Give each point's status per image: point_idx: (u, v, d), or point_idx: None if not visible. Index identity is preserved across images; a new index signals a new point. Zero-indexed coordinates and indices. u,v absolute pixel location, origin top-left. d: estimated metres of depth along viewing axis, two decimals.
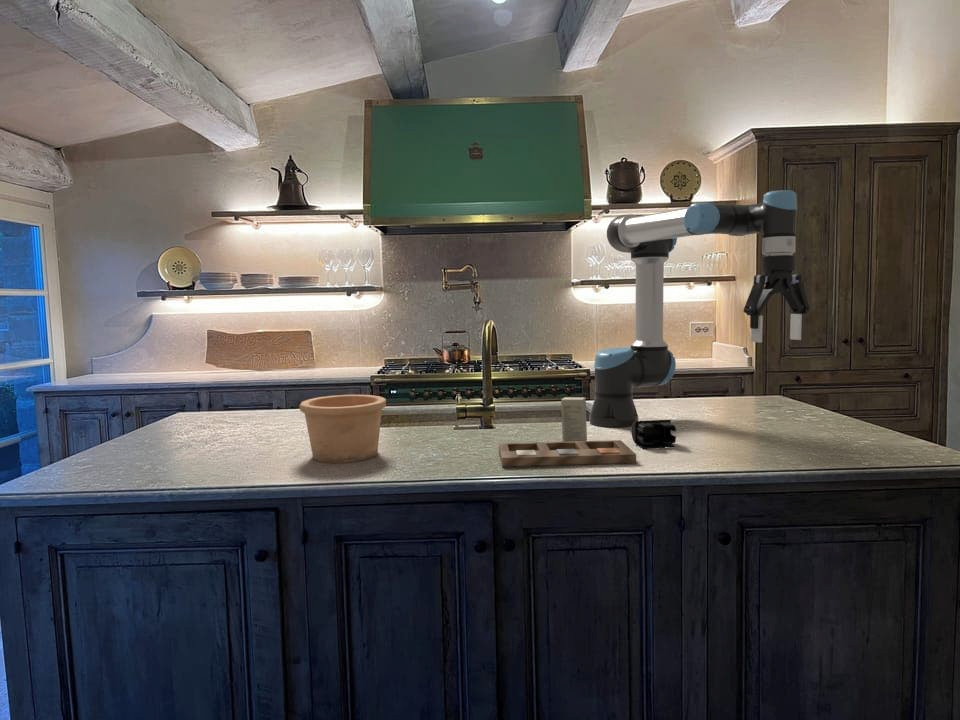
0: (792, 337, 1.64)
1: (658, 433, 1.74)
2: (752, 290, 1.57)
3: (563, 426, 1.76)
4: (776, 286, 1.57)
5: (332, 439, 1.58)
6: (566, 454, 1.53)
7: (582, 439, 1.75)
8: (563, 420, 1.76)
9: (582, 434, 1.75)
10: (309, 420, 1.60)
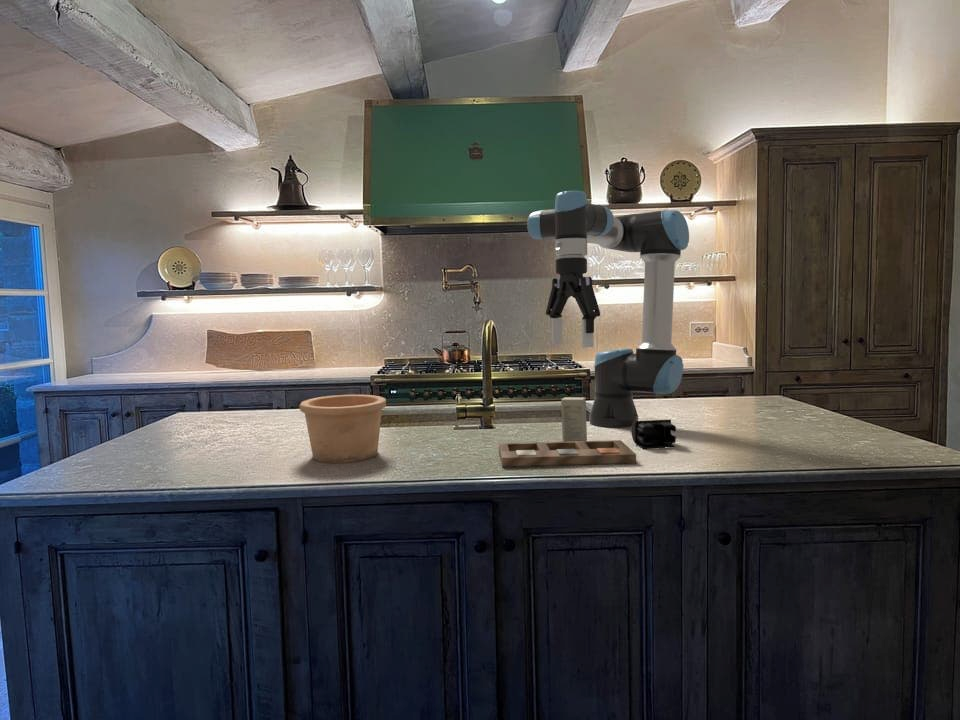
0: None
1: (658, 433, 1.74)
2: None
3: (563, 426, 1.76)
4: (560, 289, 1.57)
5: (332, 439, 1.58)
6: (566, 454, 1.53)
7: (582, 439, 1.75)
8: (563, 420, 1.76)
9: (582, 434, 1.75)
10: (309, 420, 1.60)
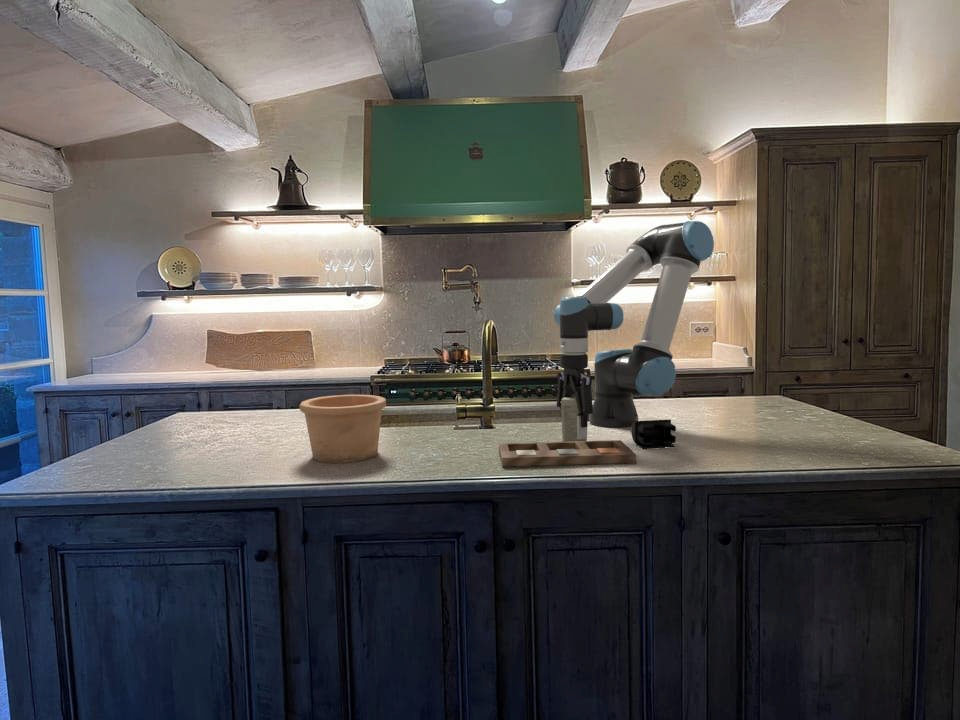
0: None
1: (658, 433, 1.74)
2: None
3: (563, 426, 1.76)
4: (564, 382, 1.77)
5: (332, 439, 1.58)
6: (566, 454, 1.53)
7: (582, 439, 1.75)
8: (563, 420, 1.76)
9: None
10: (309, 420, 1.60)
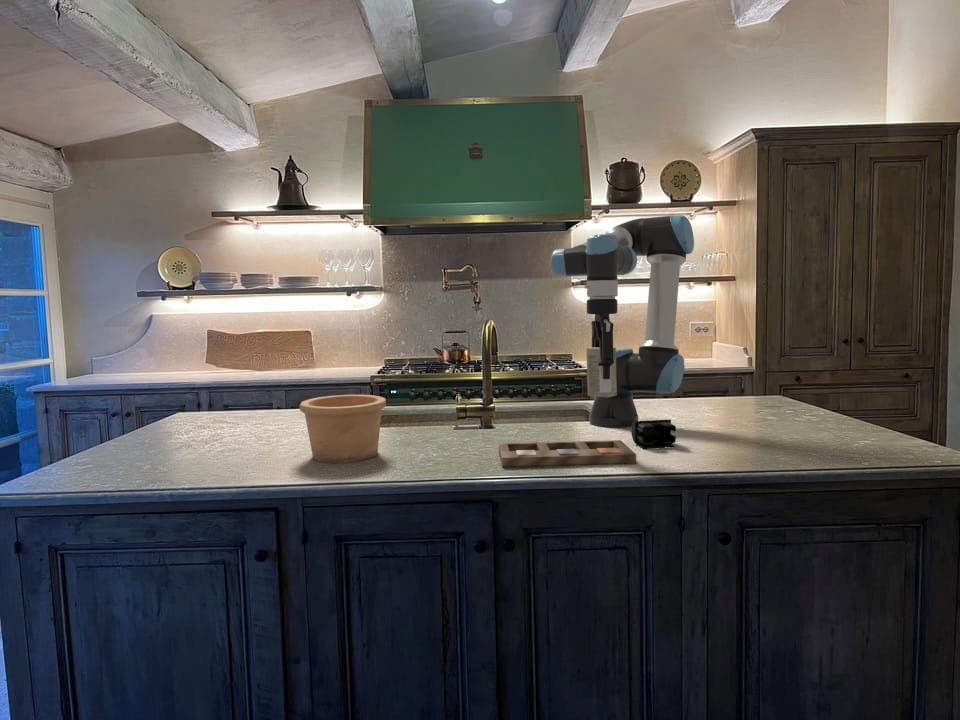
0: None
1: (658, 433, 1.74)
2: None
3: (588, 378, 1.61)
4: (593, 330, 1.62)
5: (332, 439, 1.58)
6: (566, 454, 1.53)
7: (606, 393, 1.58)
8: (588, 371, 1.61)
9: None
10: (309, 420, 1.60)
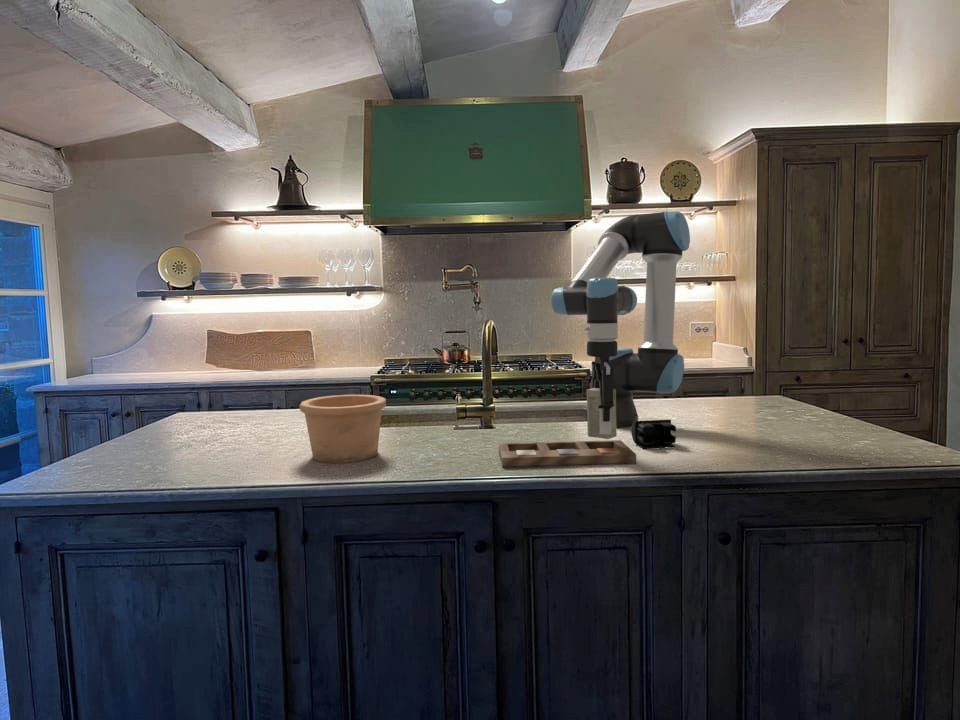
0: None
1: (658, 433, 1.74)
2: None
3: (588, 419, 1.62)
4: (593, 371, 1.63)
5: (332, 439, 1.58)
6: (566, 454, 1.53)
7: (606, 434, 1.59)
8: (588, 412, 1.62)
9: None
10: (309, 420, 1.60)
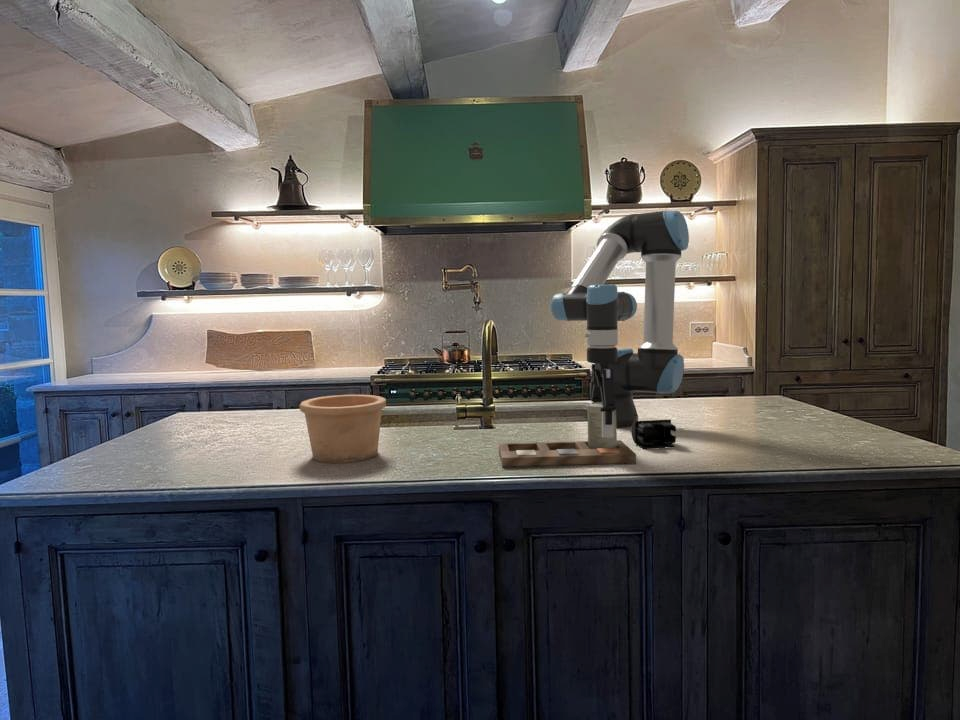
0: None
1: (658, 433, 1.74)
2: None
3: (589, 435, 1.63)
4: (593, 376, 1.63)
5: (332, 439, 1.58)
6: (566, 454, 1.53)
7: None
8: (589, 428, 1.63)
9: (607, 445, 1.60)
10: (309, 420, 1.60)
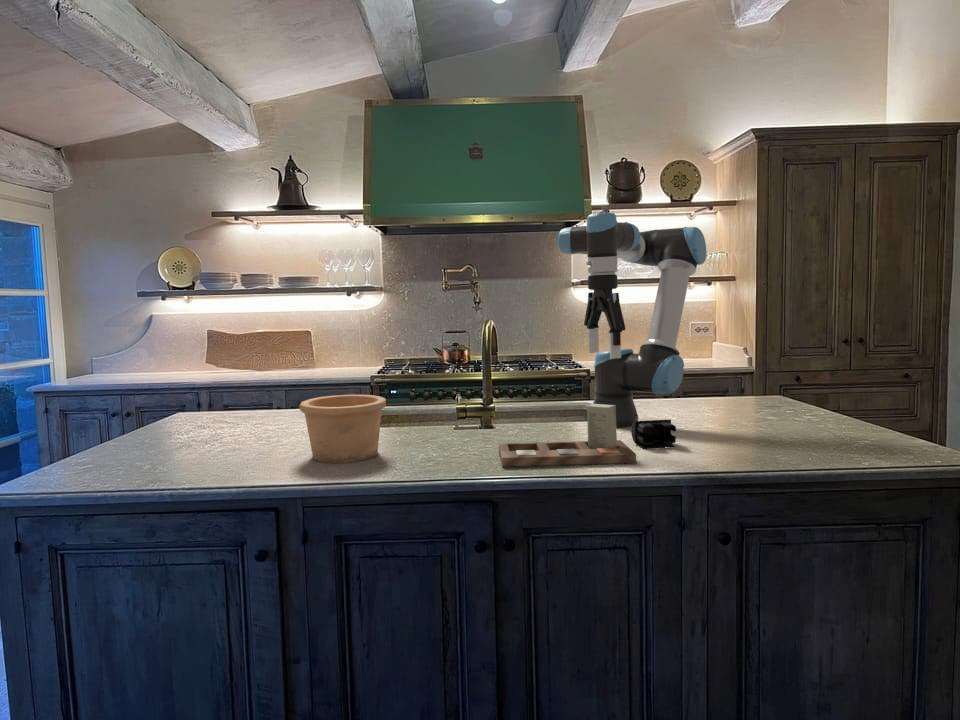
0: None
1: (658, 433, 1.74)
2: None
3: (588, 435, 1.63)
4: (593, 303, 1.69)
5: (332, 439, 1.58)
6: (566, 454, 1.53)
7: None
8: (588, 428, 1.63)
9: (607, 445, 1.60)
10: (309, 420, 1.60)
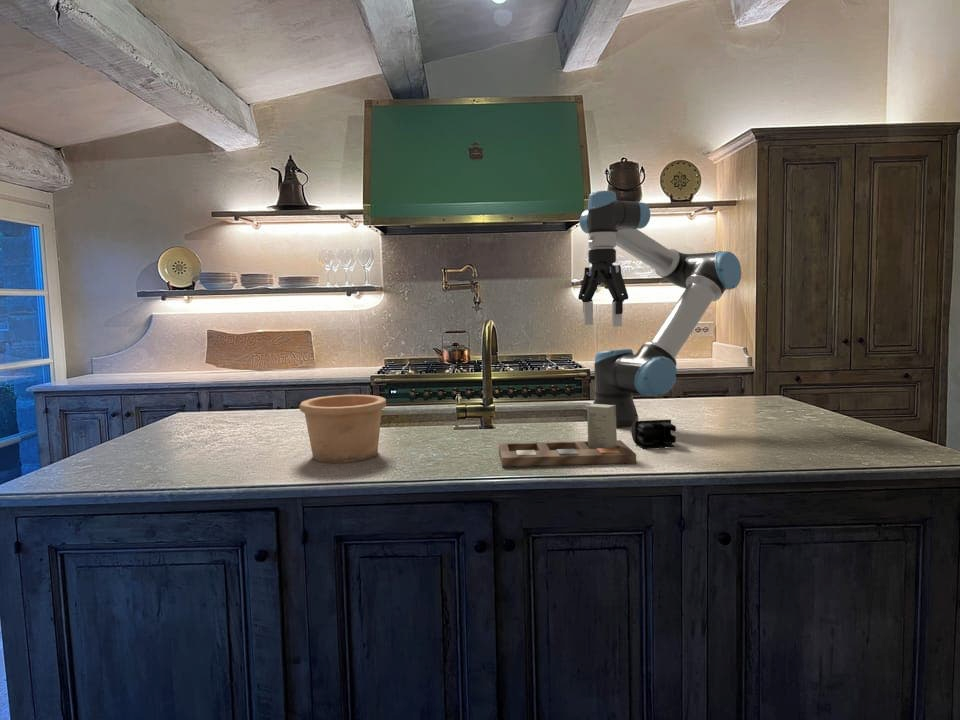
0: None
1: (658, 433, 1.74)
2: None
3: (588, 435, 1.63)
4: (591, 277, 1.80)
5: (332, 439, 1.58)
6: (566, 454, 1.53)
7: None
8: (588, 428, 1.63)
9: (607, 445, 1.60)
10: (309, 420, 1.60)
